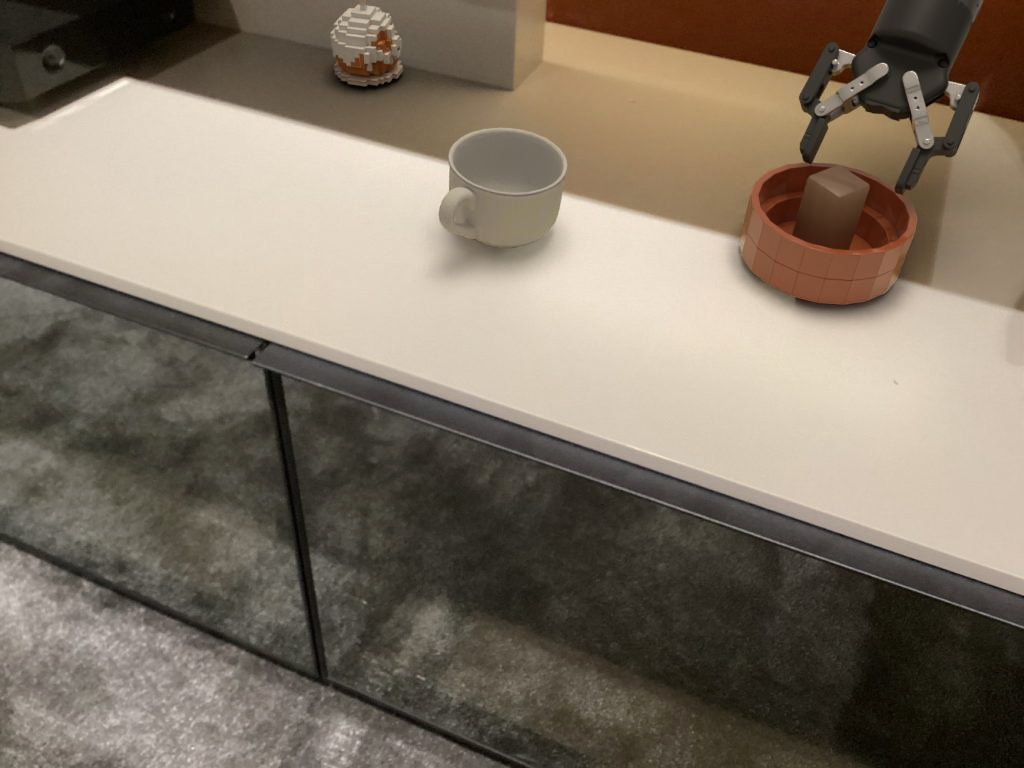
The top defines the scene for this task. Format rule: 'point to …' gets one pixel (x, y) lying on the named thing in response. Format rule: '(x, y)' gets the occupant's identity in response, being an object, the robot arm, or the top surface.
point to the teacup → (503, 187)
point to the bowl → (819, 267)
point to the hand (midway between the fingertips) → (851, 175)
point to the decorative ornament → (366, 46)
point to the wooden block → (831, 208)
